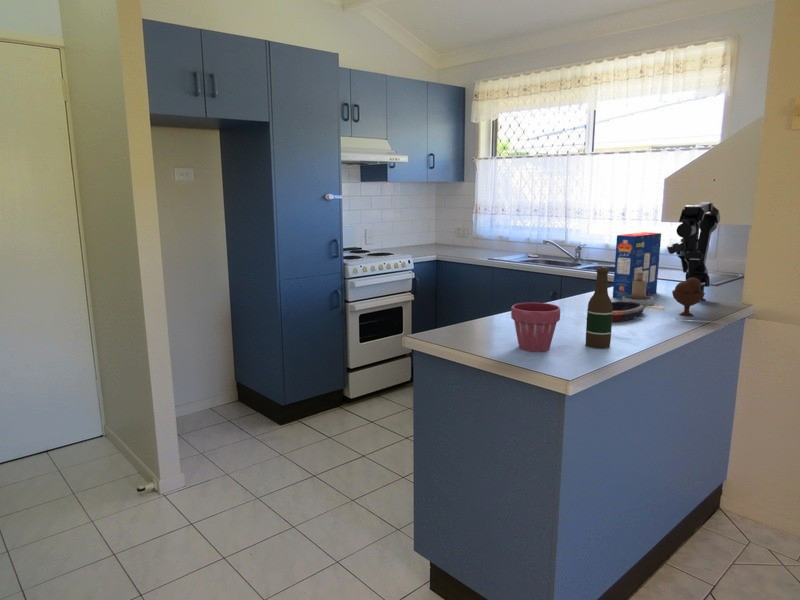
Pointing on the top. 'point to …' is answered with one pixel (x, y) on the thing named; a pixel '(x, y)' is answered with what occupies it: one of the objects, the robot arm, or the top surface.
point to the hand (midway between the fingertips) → (687, 274)
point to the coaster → (654, 308)
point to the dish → (626, 310)
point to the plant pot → (535, 324)
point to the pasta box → (636, 262)
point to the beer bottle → (599, 313)
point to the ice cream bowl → (688, 294)
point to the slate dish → (647, 300)
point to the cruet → (639, 287)
